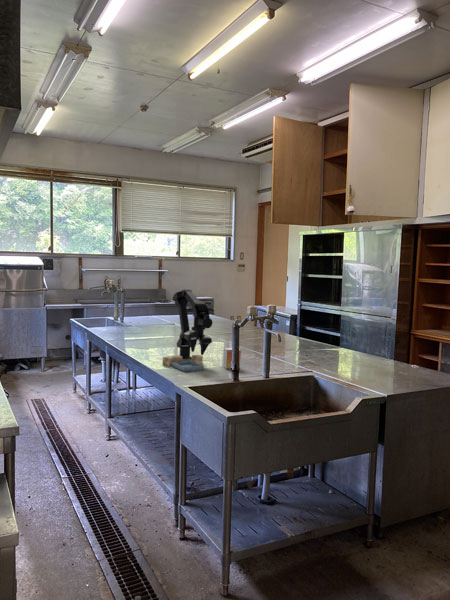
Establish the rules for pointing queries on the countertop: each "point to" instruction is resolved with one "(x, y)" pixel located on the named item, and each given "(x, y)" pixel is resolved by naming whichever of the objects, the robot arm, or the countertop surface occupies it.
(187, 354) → the robot arm
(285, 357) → the countertop surface
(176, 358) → the oak cube
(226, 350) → the small box
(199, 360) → the oak cube
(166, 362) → the oak cube
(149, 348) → the countertop surface
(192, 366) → the tray
